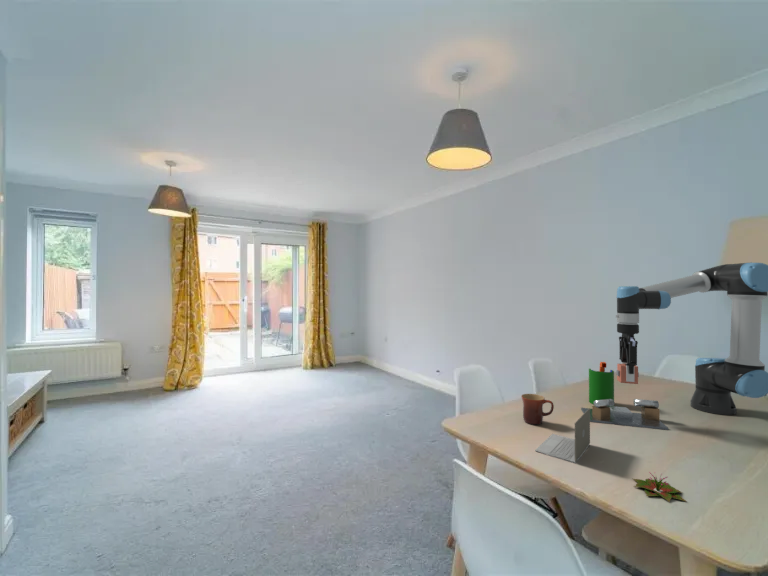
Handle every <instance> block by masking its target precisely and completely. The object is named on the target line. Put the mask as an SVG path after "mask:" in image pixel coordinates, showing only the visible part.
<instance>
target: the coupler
mask: <svg viewBox="0 0 768 576" xmlns="http://www.w3.org/2000/svg"><path fill="white" fill-rule="evenodd" d="M616 366H617V367H616V368H617V369H616V376H617V378H616V379H617V381H618V382H619V383H621V384H630V385H631V384H632V385H639V375H640V373H639V366H637V365H635V366H634V372H635V382H627V381H626V366H625V364H622V363H617V365H616Z"/></svg>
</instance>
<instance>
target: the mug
mask: <svg viewBox="0 0 768 576" xmlns="http://www.w3.org/2000/svg"><path fill="white" fill-rule="evenodd" d="M545 398H546V397H544V396H542V395H540V394H537V393H524V394H521V399H522V403H523V404H522V407H523V408H522V414H523V415H522V417H523V420H524V422H525V423H527V424H529V425H534V426H535V425H536V426H538V425H541V424H542V423H543V421H544V417H549V416H550V415H551V414H553V411H554V409H555V408H554V406H555V405H554V402H553V401H552V400H549V399H545ZM547 403H549V404H550V410H549V411H548V412H544V410H543V409H544V407H543V406H544V404H547Z"/></svg>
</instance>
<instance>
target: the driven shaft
mask: <svg viewBox="0 0 768 576" xmlns="http://www.w3.org/2000/svg"><path fill="white" fill-rule="evenodd" d="M613 405H614V406H615V399H614V400H613V399H604V400H595V401H594V404H593V405H592V406H591V409H592V417H594V418H597V419H599V420H605V419H610V407H607V406H613Z"/></svg>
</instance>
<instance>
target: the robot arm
mask: <svg viewBox="0 0 768 576" xmlns="http://www.w3.org/2000/svg"><path fill="white" fill-rule="evenodd" d="M716 291H717V292H718V291H719V292H722V291H723V292H726V295H727V297H728V298H730V299H731V316H730V338H729V339H730V340H729V356H728V357H727V358H725V357H698V358H697V359H696V360H695V365H694V367H695V369H694V370H695V379H694V381H695V389H694V392H693V393H692V396H691V398H690V407H691V408H693V409H696V410H698V411H702V412H705V413H706V412H707V413H710V414H715V415H723V416H725V415H727V416H733V415H732V414H734V415H736V414H737V406H736V404H735V402H734V398H733V397H732V393H734V394H736V395H739V396H741V397H747V398H751V399H759V398H762V397H765V396H766V395H767V394H768V372H767V370H766V365H765V363H764V362H762V361H761V360H760V359H761V358H760V356H761V355H760V354H761V352H760V351H761V332H762V331H761V328H762V304H763V301H764V299H767V297H768V264H766V263H763V262H752V261H751V262H742V263H741V262H740V263H727V264H726V263H725V264H720V265H716V266H713V267H709V268H706V269H702V270H699V271H695V272H694V273H692V274H691V275H687V276H684V277H679V278H676V279H672V280H669V281H668V280H667V281H662V282H659V283H655V284H651V285H648V286H644V287H639V286H638V285H636V286H635V285H634V286H633V285H628V286H624V285H623V286H622V285H621V286H618V287H617V290H616V315H615V318H616V319H617V320H616V332H617V333H618V334H621V336H618V340H619V345H618V346H619V360H620V361H621V364H625V366H626V381H627V382H635V372H634V366H635V365H636V366H637V365H638V343H639V342H638V340H636V338H635V335H638V334H639V333H640V325H639V323H640V310H665V309H668V308H669V307H670V306H671V303H672V298H673V299H674V298H677V297H680V296H686V295H689V294H693V293H698V292H699V293H703V294H704V293H708V292H716Z"/></svg>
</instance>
